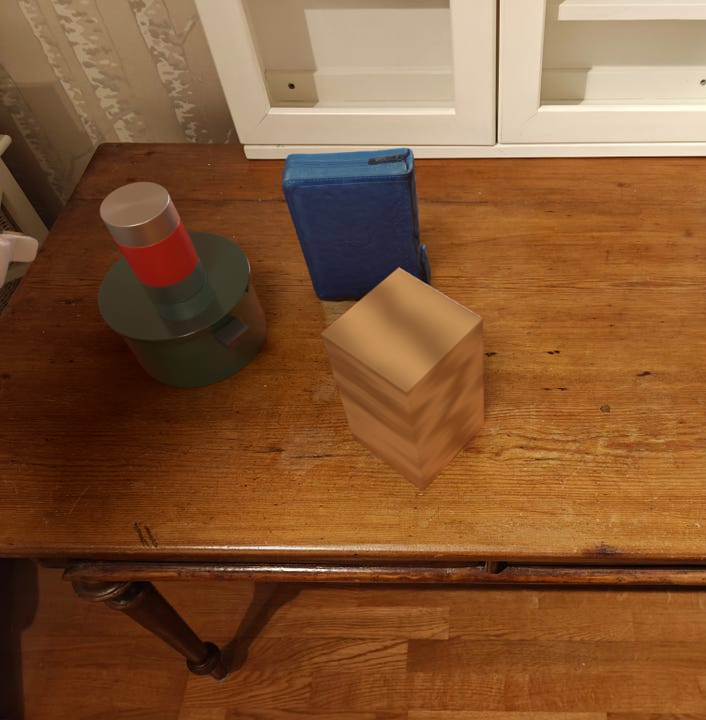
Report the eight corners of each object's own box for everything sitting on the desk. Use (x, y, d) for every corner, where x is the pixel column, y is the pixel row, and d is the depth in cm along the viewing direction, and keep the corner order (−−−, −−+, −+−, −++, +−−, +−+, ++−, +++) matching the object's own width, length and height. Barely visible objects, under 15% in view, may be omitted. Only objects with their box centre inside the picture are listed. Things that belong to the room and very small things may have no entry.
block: (423, 491, 71) (406, 392, 56) (353, 438, 75) (320, 333, 60) (484, 425, 76) (483, 318, 61) (415, 378, 79) (398, 267, 65)
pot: (201, 425, 76) (169, 375, 68) (97, 337, 83) (58, 284, 76) (309, 334, 83) (291, 280, 76) (205, 261, 91) (179, 205, 83)
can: (169, 314, 73) (125, 236, 64) (132, 285, 75) (85, 207, 67) (218, 278, 76) (183, 199, 67) (181, 252, 78) (142, 172, 70)
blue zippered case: (431, 271, 89) (419, 138, 73) (432, 302, 86) (419, 170, 70) (318, 277, 89) (281, 144, 73) (315, 308, 86) (275, 177, 70)
